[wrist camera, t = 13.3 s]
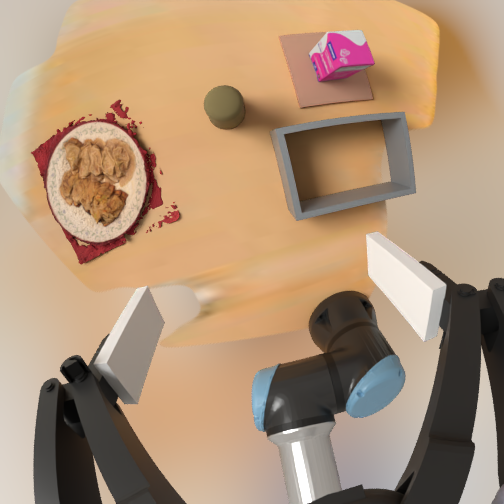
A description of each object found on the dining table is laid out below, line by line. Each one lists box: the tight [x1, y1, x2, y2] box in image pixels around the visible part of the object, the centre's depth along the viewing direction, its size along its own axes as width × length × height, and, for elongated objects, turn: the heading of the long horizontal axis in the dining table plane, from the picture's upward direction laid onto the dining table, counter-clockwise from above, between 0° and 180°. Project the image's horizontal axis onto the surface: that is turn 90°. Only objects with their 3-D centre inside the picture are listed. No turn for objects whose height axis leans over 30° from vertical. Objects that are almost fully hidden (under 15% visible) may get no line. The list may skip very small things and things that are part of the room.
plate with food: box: [31, 100, 179, 264], centre depth 42 cm, size 25×26×4 cm
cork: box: [204, 85, 245, 129], centre depth 35 cm, size 6×6×11 cm
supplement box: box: [309, 30, 375, 82], centre depth 31 cm, size 6×6×12 cm
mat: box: [279, 32, 373, 108], centre depth 37 cm, size 14×14×1 cm
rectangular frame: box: [270, 112, 416, 221], centre depth 40 cm, size 14×22×7 cm, turn 104°
